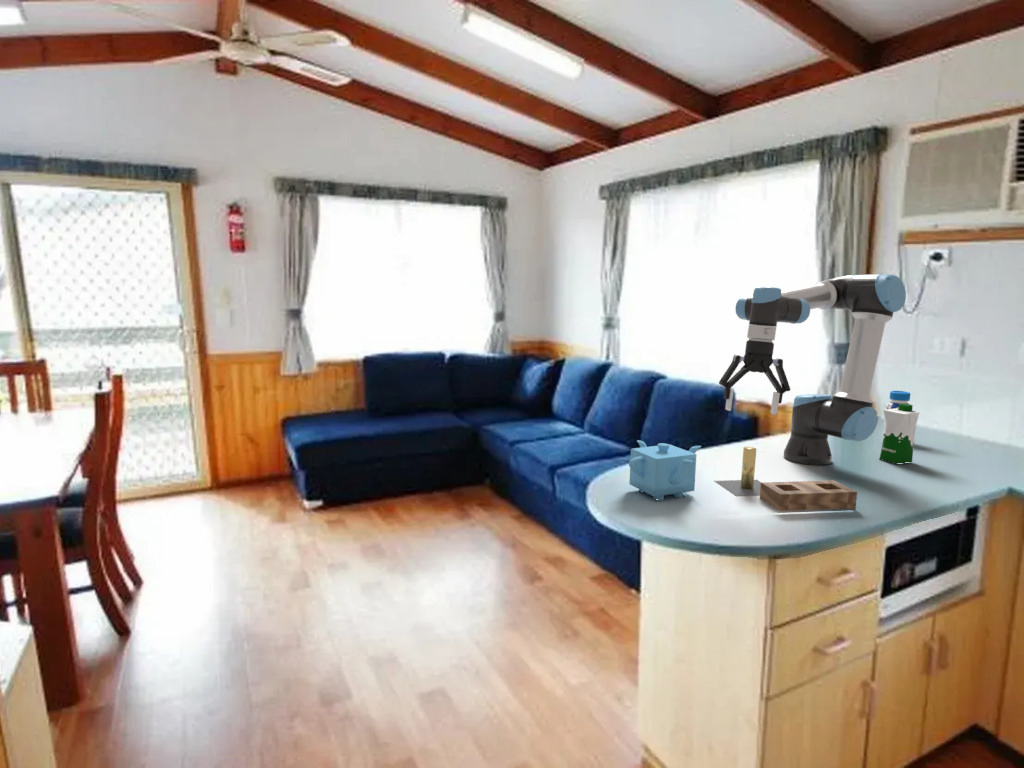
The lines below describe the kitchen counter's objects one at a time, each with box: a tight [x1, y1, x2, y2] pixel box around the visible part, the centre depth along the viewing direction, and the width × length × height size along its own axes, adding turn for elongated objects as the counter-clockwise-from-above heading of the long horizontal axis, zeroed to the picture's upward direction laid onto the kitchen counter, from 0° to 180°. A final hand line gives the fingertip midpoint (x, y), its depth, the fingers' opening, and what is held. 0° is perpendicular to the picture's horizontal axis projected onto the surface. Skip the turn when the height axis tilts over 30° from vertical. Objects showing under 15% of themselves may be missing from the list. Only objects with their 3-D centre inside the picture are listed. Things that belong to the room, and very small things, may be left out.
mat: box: [714, 479, 763, 497], centre depth 180 cm, size 14×14×1 cm
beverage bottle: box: [885, 390, 911, 410], centre depth 239 cm, size 8×8×20 cm
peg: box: [740, 446, 757, 489], centre depth 179 cm, size 4×4×12 cm
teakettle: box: [628, 439, 702, 501], centre depth 174 cm, size 19×19×15 cm
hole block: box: [759, 479, 858, 512], centre depth 167 cm, size 22×10×5 cm, turn 97°
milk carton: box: [879, 403, 920, 464], centre depth 210 cm, size 9×9×20 cm
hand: (750, 412), depth 179 cm, fingers open, 13 cm apart
